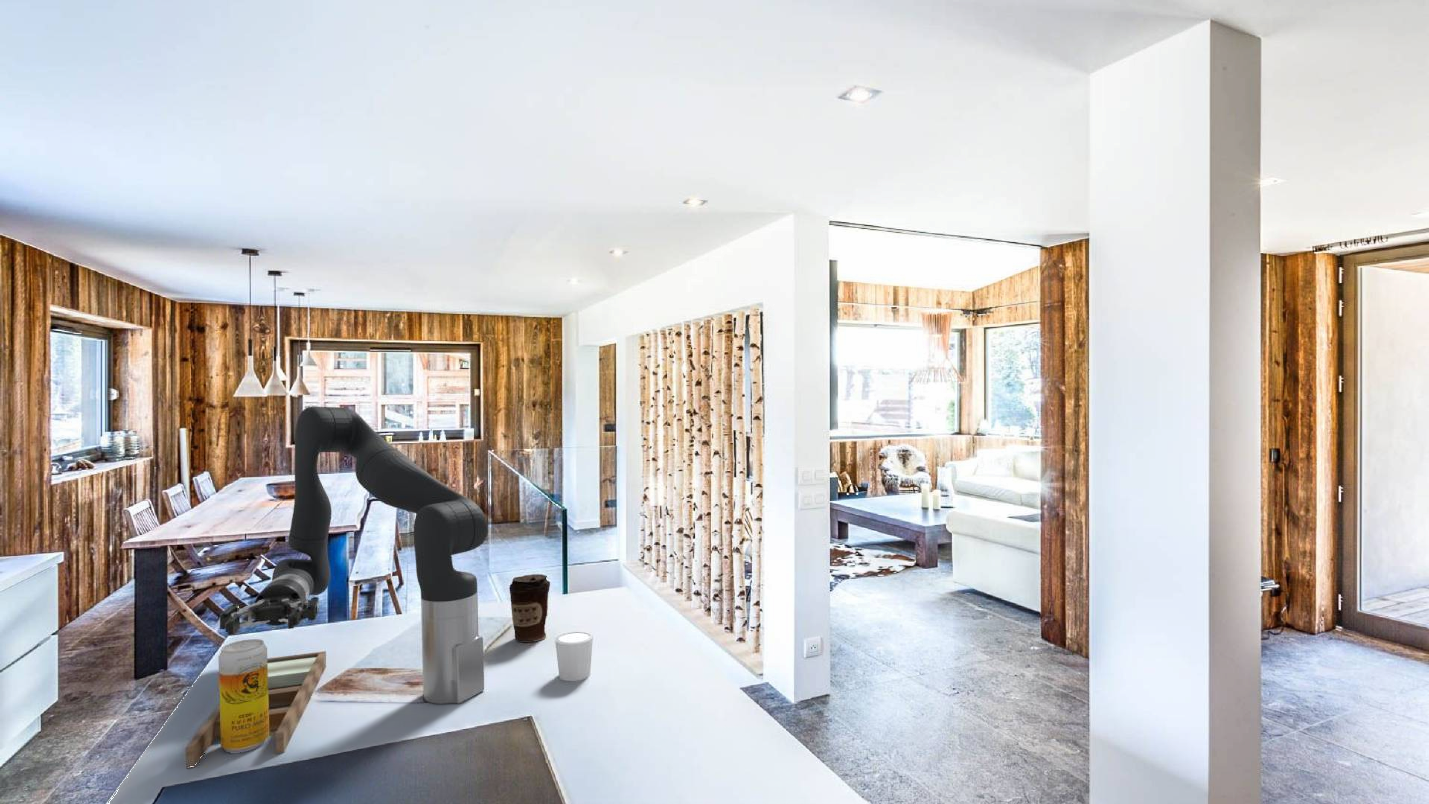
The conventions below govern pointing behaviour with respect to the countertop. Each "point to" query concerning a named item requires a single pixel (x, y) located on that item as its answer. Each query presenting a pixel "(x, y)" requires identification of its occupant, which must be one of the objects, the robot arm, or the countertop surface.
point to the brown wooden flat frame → (273, 701)
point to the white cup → (574, 655)
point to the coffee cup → (529, 606)
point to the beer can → (243, 695)
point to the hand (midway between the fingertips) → (261, 625)
